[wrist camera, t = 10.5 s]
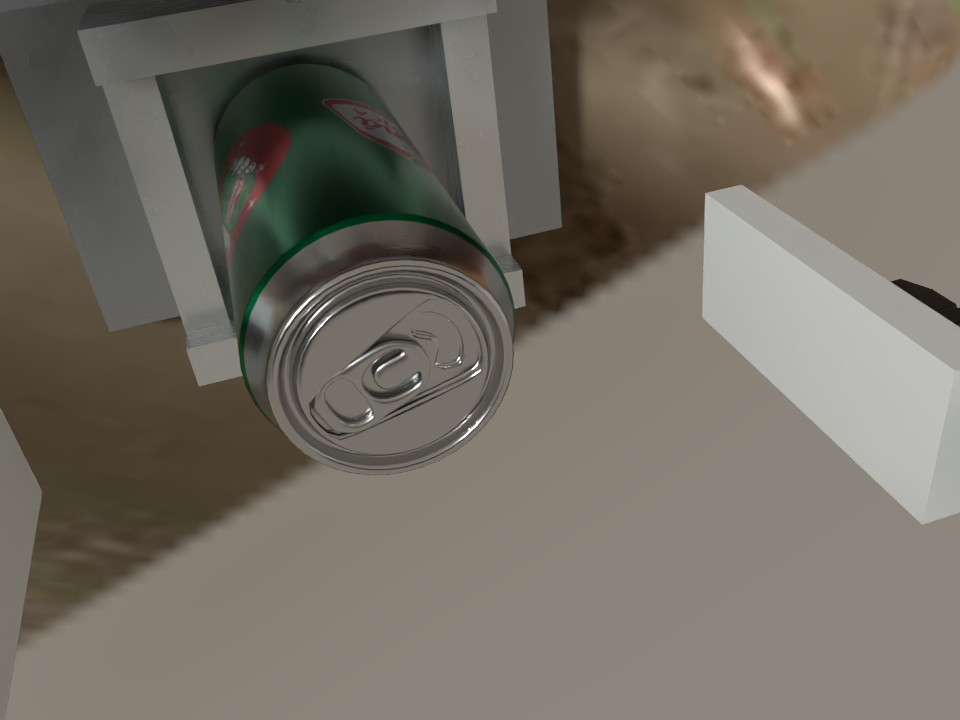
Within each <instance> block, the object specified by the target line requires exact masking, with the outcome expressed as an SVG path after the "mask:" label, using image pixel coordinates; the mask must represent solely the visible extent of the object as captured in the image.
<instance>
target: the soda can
mask: <svg viewBox="0 0 960 720" xmlns="http://www.w3.org/2000/svg"><path fill="white" fill-rule="evenodd" d="M214 165H215V173H216V181H217V189H218V196H219V204H220V212H221V220H222V228H223V235H224V243H225V251H226V259H227V266H228V274H229V282H230V290H231V298H232V305H233V313H234V321H235V329H236V337H237V344H238V352H239V360H240V368H241V372H242V375H243V378H244V381H245V385H246V388H247V390H248V392H249V393H250V395H251V397H252V399H253V401H254V403H255V405H256V406H257V407H258V408H259V410H260V411H261V412H262V414H263V415H264V416H265V417H266V419H267V420H268V421H269V422H271V423H272V424H273V425H274V426H275V427H276V428H277V429H279V430H280V431H281V432H282V433H284V434H285V435H286V436H287V437H288V438H289V440H290V441H291V442H292V443H293V444H294V445H295V446H296V447H298V448H299V449H300V450H301V451H302V452H303V453H304V454H306V455H308V456H309V457H311V458H312V459H314V460H316V461H317V462H319V463H322V464H324V465H326V466H329V467H331V468H334V469H337V470H341V471H345V472H349V473H355V474H364V475H388V474H395V473H402V472H407V471H411V470H414V469H417V468H421V467H424V466H427V465H429V464H432V463H434V462H436V461H439V460H441V459H443V458H444V457H446V456H448V455H450V454H452V453H453V452H455V451H456V450H458V449H459V448H460V447H462V446H463V445H465V444H466V443H467V442H469V441H470V440H471V439H472V438H473V437H474V436H475V435H476V434H477V433H478V432H480V431H481V429H483V427H484V426H485V425H486V424H487V422H488V421H489V420H490V419H491V418H492V416H493V415H494V413H495V412H496V410H497V408H498V407H499V405H500V404H501V402H502V400H503V398H504V395H505V393H506V390H507V388H508V386H509V382H510V377H511V374H512V369H513V356H514V350H513V343H514V338H515V323H516V319H515V309H514V301H513V298H512V294H511V291H510V288H509V284H508V282H507V280H506V278H505V276H504V274H503V272H502V270H501V268H500V267H499V265H498V264H497V262H496V261H495V260H494V258H493V257H492V255H491V254H490V252H489V251H488V250H487V248H486V247H485V245H484V244H483V242H482V241H481V240H480V238H479V237H478V235H477V234H476V232H475V231H474V230H473V228H472V227H471V225H470V224H469V223H468V221H467V220H466V218H465V217H464V215H463V214H462V213H461V211H460V210H459V208H458V207H457V205H456V204H455V203H454V201H453V200H452V198H451V197H450V195H449V194H448V193H447V191H446V190H445V188H444V187H443V186H442V184H441V183H440V181H439V180H438V178H437V177H436V176H435V174H434V173H433V171H432V170H431V168H430V167H429V166H428V164H427V163H426V161H425V160H424V159H423V157H422V156H421V154H420V153H419V151H418V150H417V149H416V147H415V146H414V144H413V143H412V141H411V140H410V139H409V137H408V136H407V134H406V133H405V131H404V130H403V129H402V127H401V126H400V124H399V123H398V122H397V120H396V119H395V117H394V116H393V114H392V113H391V112H390V110H389V109H388V107H387V106H386V105H385V103H384V102H383V101H382V99H381V98H380V97H379V95H378V94H377V93H376V92H374V91H373V90H372V89H371V88H370V87H369V86H368V85H367V84H365V83H364V82H363V81H361V80H360V79H358V78H357V77H355V76H353V75H351V74H349V73H347V72H345V71H343V70H340V69H336V68H333V67H330V66H325V65H317V64H296V65H290V66H285V67H281V68H278V69H275V70H272V71H270V72H267V73H265V74H263V75H262V76H260V77H258V78H256V79H254V80H253V81H252V82H250V83H249V84H248V85H247V86H245V87H244V88H243V89H242V90H241V91H240V92H239V93H238V94H237V95H236V96H235V97H234V99H233V100H232V101H231V102H230V104H229V106H228V107H227V109H226V110H225V112H224V114H223V116H222V118H221V121H220V123H219V125H218V128H217V133H216V137H215V141H214Z"/></svg>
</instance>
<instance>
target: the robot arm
mask: <svg viewBox="0 0 960 720" xmlns="http://www.w3.org/2000/svg"><path fill="white" fill-rule="evenodd" d="M702 298H703V299H702V301H703V302H702V317H703V319H705V320H706V321H707V322H708V323H709V324H710V325H711V326H712V327H713V328H714V329H715V330H716V331H717V332H718V333H720V334H721V335H722V336H723V337H724V338H725V339H726V340H727V341H728V342H729V343H730V344H731V345H732V346H733V347H734V348H735V349H736V350H737V351H739V352H740V353H741V354H742V355H743V356H744V357H745V358H746V359H747V360H748V361H749V362H750V363H751V364H752V365H753V366H754V367H755V368H757V369H758V370H759V371H760V372H761V373H762V374H763V375H764V376H765V377H766V378H767V379H768V380H769V381H770V382H771V383H772V384H774V385H775V386H776V387H777V388H778V389H779V390H780V391H781V392H782V393H783V394H784V395H785V396H786V397H787V398H788V399H789V400H790V401H791V402H793V403H794V404H795V405H796V406H797V407H798V408H799V409H800V410H801V411H802V412H803V413H804V414H805V415H807V417H808V418H810V419H811V420H812V421H813V422H814V423H815V424H816V425H817V426H818V427H819V428H820V429H821V430H822V431H823V432H824V433H825V434H827V435H828V436H829V437H830V438H831V439H832V440H833V441H834V442H835V443H836V444H837V445H838V446H839V447H840V448H841V449H843V451H845V452H846V453H847V454H848V455H849V456H850V457H851V458H852V459H853V460H854V461H855V462H856V463H857V464H858V465H859V466H860V467H861V468H863V469H864V470H865V471H866V472H867V473H868V474H869V475H870V476H871V477H872V478H873V479H874V480H875V481H877V483H878V484H880V485H881V486H882V487H883V488H884V489H885V490H886V491H887V492H888V493H889V494H890V495H891V496H892V497H893V498H894V499H895V500H896V501H898V502H899V503H900V504H901V505H902V506H903V507H904V508H905V509H906V510H907V511H908V512H909V513H910V514H911V515H912V516H913V517H915V518H916V519H917V520H918V521H919V522H920V523H921V524H922V525H923V524H927V523H930V522H933V521H936V520H939V519H942V518H945V517H948V516H951V515H954V514H957V513H960V308H957V306H956V304H955V303H953V302H952V301H950V300H948V299H947V298H945V297H944V296H942V295H940V294H939V293H937V292H936V291H934V290H932V289H929V288H926V287H923V286H920V285H917V284H914V283H911V282H908V281H905V280H902V279H898V280H895V281H891V282H890V281H888V280H887V279H885V278H884V277H882V276H881V275H879V274H878V273H876V272H874V271H873V270H871V269H870V268H868V267H867V266H865V265H864V264H862V263H861V262H859V261H858V260H856V259H855V258H853V257H852V256H850V255H848V254H847V253H845V252H844V251H842V250H841V249H839V248H838V247H836V246H835V245H833V244H832V243H830V242H828V241H827V240H825V239H824V238H822V237H821V236H819V235H818V234H816V233H815V232H813V231H812V230H810V229H809V228H807V227H806V226H804V225H803V224H801V223H799V222H798V221H796V220H795V219H793V218H792V217H790V216H789V215H787V214H786V213H784V212H783V211H781V210H780V209H778V208H776V207H775V206H773V205H772V204H770V203H769V202H767V201H766V200H764V199H763V198H761V197H760V196H758V195H757V194H755V193H754V192H752V191H750V190H749V189H747V188H746V187H744V186H743V185H738V186H733V187H729V188H725V189H721V190H717V191H712V192H708V193H705V223H704V260H703V297H702ZM41 498H42V490H41V488H40V486H39V484H38V482H37V480H36V478H35V476H34V474H33V472H32V470H31V468H30V466H29V464H28V462H27V460H26V458H25V456H24V454H23V452H22V450H21V448H20V446H19V444H18V442H17V440H16V438H15V436H14V434H13V432H12V430H11V428H10V426H9V424H8V422H7V420H6V418H5V416H4V414H3V412H2V410H1V408H0V720H5V716H6V710H7V703H8V698H9V691H10V685H11V679H12V673H13V667H14V661H15V655H16V649H17V643H18V637H19V631H20V625H21V619H22V613H23V607H24V601H25V595H26V588H27V582H28V576H29V570H30V564H31V558H32V552H33V546H34V540H35V534H36V528H37V522H38V516H39V510H40V504H41Z"/></svg>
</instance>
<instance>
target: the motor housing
mask: <svg viewBox="0 0 960 720" xmlns="http://www.w3.org/2000/svg"><path fill="white" fill-rule="evenodd" d="M0 55H1V57H2V60H3V62H4V65H5V68H6V70H7V73H8V75H9V78H10V80H11V83H12V85H13V88H14V90H15V93H16V96H17V98H18V101H19V103H20V106H21V108H22V111H23V113H24V116H25V118H26V121H27V123H28V126H29V129H30V131H31V134H32V136H33V139H34V141H35V144H36V146H37V149H38V151H39V154H40V157H41V159H42V162H43V164H44V167H45V169H46V172H47V174H48V177H49V179H50V182H51V185H52V187H53V190H54V192H55V195H56V197H57V200H58V202H59V205H60V207H61V210H62V213H63V215H64V218H65V220H66V223H67V225H68V228H69V230H70V233H71V235H72V238H73V240H74V243H75V246H76V248H77V251H78V253H79V256H80V258H81V261H82V263H83V266H84V268H85V271H86V274H87V276H88V279H89V281H90V284H91V286H92V289H93V291H94V294H95V296H96V299H97V302H98V304H99V307H100V309H101V312H102V314H103V317H104V319H105V322H106V324H107V327H108V330H109V332H113V331H117V330H122V329H126V328H130V327H134V326H139V325H143V324H147V323H152V322H156V321H160V320H165V319H169V318H173V317H178V316H181V319H182V322H183V325H184V328H185V331H186V351H187V353H188V356H189V359H190V362H191V365H192V368H193V371H194V374H195V377H196V380H197V383H198V385H199V386H203V385H207V384H211V383H215V382H219V381H223V380H227V379H231V378H235V377H240V376H243V375H242V372H241V368H240V360H239V352H238V344H237V337H236V329H235V321H234V313H233V305H232V298H231V290H230V282H229V274H228V266H227V259H226V251H225V243H224V235H223V228H222V220H221V212H220V204H219V196H218V189H217V181H216V173H215V165H214V141H215V137H216V133H217V128H218V125H219V123H220V121H221V118H222V116H223V114H224V112H225V110H226V109H227V107H228V106H229V104H230V102H231V101H232V100H233V99H234V97H235V96H236V95H237V94H238V93H239V92H240V91H241V90H242V89H243V88H244V87H245V86H247V85H248V84H249V83H250V82H252V81H253V80H254V79H256V78H258V77H260V76H262V75H263V74H265V73H267V72H270V71H272V70H275V69H278V68H281V67H285V66H290V65H296V64H317V65H325V66H330V67H333V68H336V69H340V70H343V71H345V72H347V73H349V74H351V75H353V76H355V77H357V78H358V79H360V80H361V81H363V82H364V83H365V84H367V85H368V86H369V87H370V88H371V89H372V90H373V91H374V92H376V93H377V94H378V95H379V97H380V98H381V99H382V101H383V102H384V103H385V105H386V106H387V107H388V109H389V110H390V112H391V113H392V114H393V116H394V117H395V119H396V120H397V122H398V123H399V124H400V126H401V127H402V129H403V130H404V131H405V133H406V134H407V136H408V137H409V139H410V140H411V141H412V143H413V144H414V146H415V147H416V149H417V150H418V151H419V153H420V154H421V156H422V157H423V159H424V160H425V161H426V163H427V164H428V166H429V167H430V168H431V170H432V171H433V173H434V174H435V176H436V177H437V178H438V180H439V181H440V183H441V184H442V186H443V187H444V188H445V190H446V191H447V193H448V194H449V195H450V197H451V198H452V200H453V201H454V203H455V204H456V205H457V207H458V208H459V210H460V211H461V213H462V214H463V215H464V217H465V218H466V220H467V221H468V223H469V224H470V225H471V227H472V228H473V230H474V231H475V232H476V234H477V235H478V237H479V238H480V240H481V241H482V242H483V244H484V245H485V247H486V248H487V250H488V251H489V252H490V254H491V255H492V257H493V258H494V260H495V261H496V262H497V264H498V265H499V267H500V268H501V270H502V272H503V274H504V276H505V278H506V280H507V282H508V284H509V288H510V291H511V294H512V298H513V301H514V309H516V308H520V307H524V306H526V304H525V294H524V284H523V273H522V269H521V267H520V266H519V265H518V263H517V262H516V261H515V259H514V258H513V257H512V255H511V247H510V239H514V238H519V237H523V236H527V235H532V234H536V233H540V232H545V231H549V230H553V229H558V228H562V218H561V203H560V189H559V174H558V159H557V144H556V130H555V115H554V100H553V85H552V71H551V56H550V41H549V26H548V12H547V0H0Z"/></svg>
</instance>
